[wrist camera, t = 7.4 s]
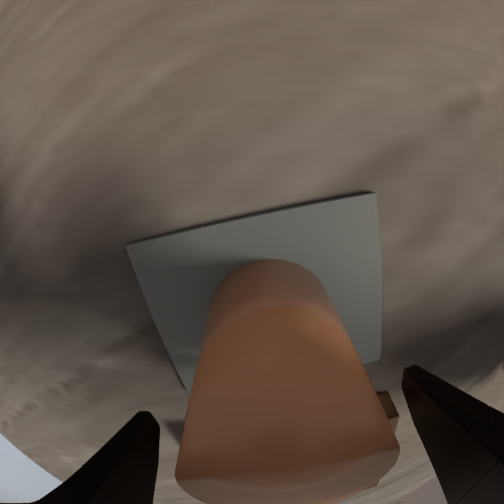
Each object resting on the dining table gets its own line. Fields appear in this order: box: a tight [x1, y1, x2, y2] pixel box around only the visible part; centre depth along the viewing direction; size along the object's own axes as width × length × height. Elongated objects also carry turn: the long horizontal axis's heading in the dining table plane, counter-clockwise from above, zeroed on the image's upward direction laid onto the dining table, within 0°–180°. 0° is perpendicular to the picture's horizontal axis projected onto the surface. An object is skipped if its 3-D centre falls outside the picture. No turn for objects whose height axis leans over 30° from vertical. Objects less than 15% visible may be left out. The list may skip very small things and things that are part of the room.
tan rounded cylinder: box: [175, 259, 400, 504], centre depth 10 cm, size 6×8×9 cm
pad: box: [126, 192, 383, 395], centre depth 14 cm, size 12×10×1 cm
